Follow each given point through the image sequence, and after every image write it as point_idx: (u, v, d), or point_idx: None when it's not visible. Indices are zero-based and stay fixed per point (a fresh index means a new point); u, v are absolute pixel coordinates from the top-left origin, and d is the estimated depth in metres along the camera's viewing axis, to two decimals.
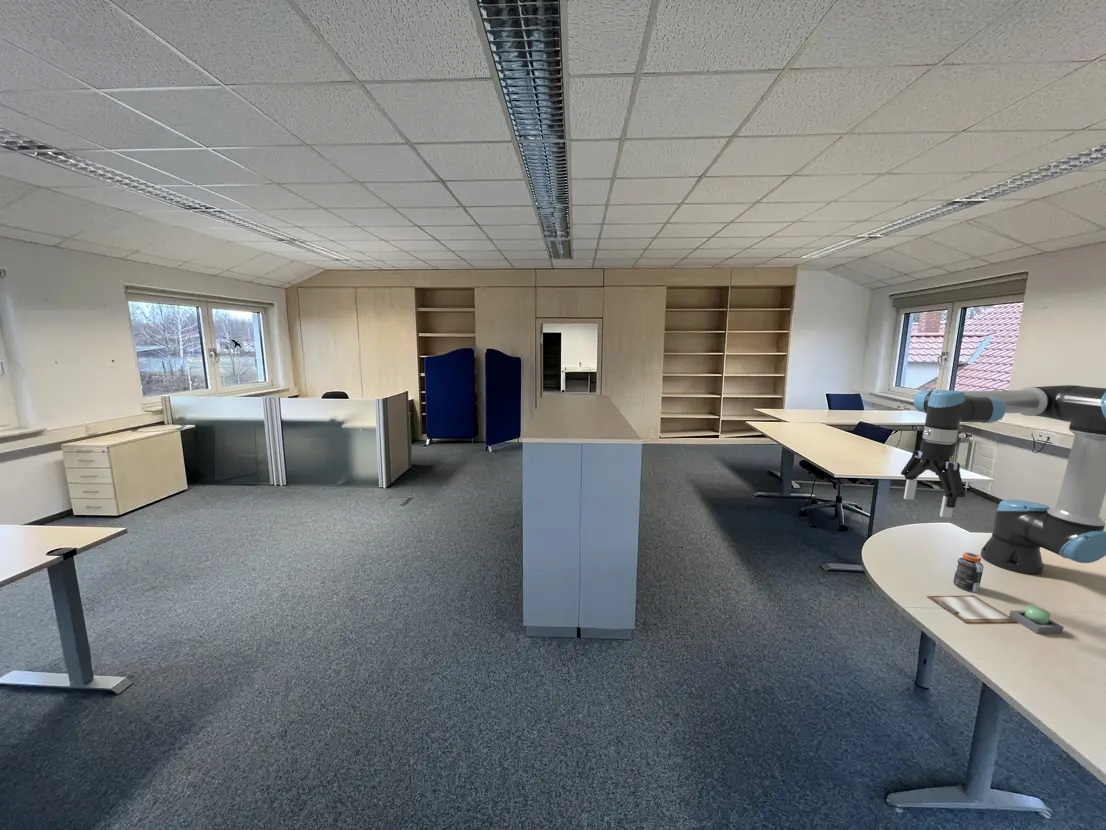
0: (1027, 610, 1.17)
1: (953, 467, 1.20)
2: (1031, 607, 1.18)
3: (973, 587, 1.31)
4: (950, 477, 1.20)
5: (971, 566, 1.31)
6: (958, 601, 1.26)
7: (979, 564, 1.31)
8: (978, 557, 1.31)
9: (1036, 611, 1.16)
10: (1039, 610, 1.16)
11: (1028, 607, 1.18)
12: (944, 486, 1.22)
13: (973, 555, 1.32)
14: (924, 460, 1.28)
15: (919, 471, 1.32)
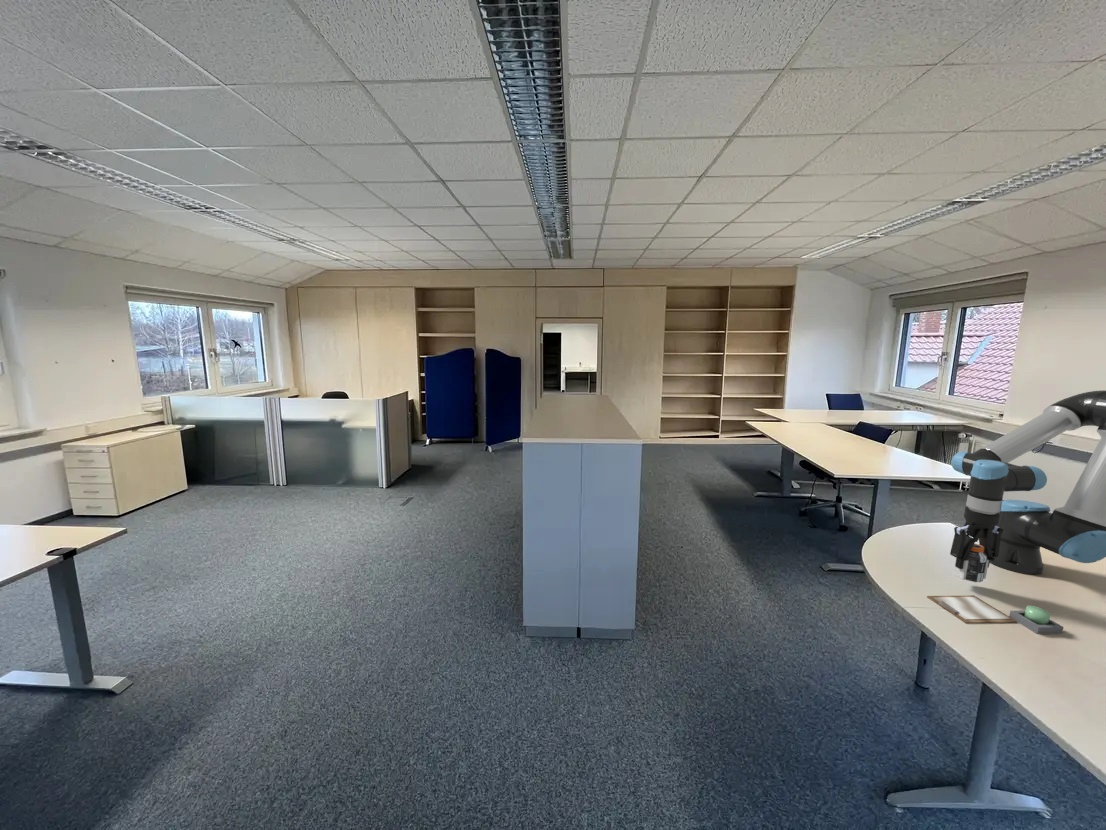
0: (1027, 610, 1.17)
1: (956, 531, 1.31)
2: (1031, 607, 1.18)
3: (978, 578, 1.31)
4: None
5: (974, 556, 1.30)
6: (958, 601, 1.26)
7: (983, 554, 1.30)
8: (981, 547, 1.31)
9: (1036, 611, 1.16)
10: (1039, 610, 1.16)
11: (1028, 607, 1.18)
12: None
13: (976, 545, 1.32)
14: None
15: (982, 544, 1.32)
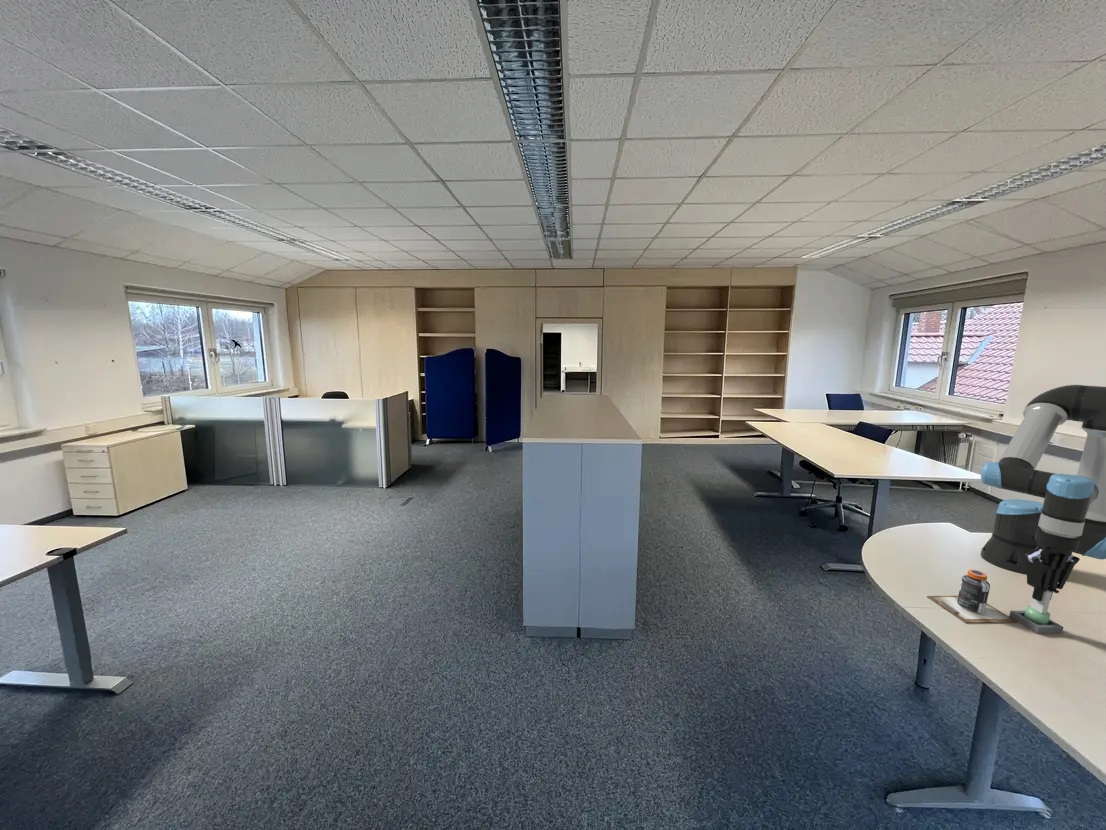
0: (1027, 610, 1.17)
1: (1028, 559, 1.14)
2: None
3: (979, 608, 1.20)
4: None
5: (976, 584, 1.20)
6: None
7: (985, 583, 1.20)
8: (984, 575, 1.20)
9: (1036, 611, 1.16)
10: None
11: (1028, 607, 1.18)
12: None
13: (979, 573, 1.21)
14: None
15: None
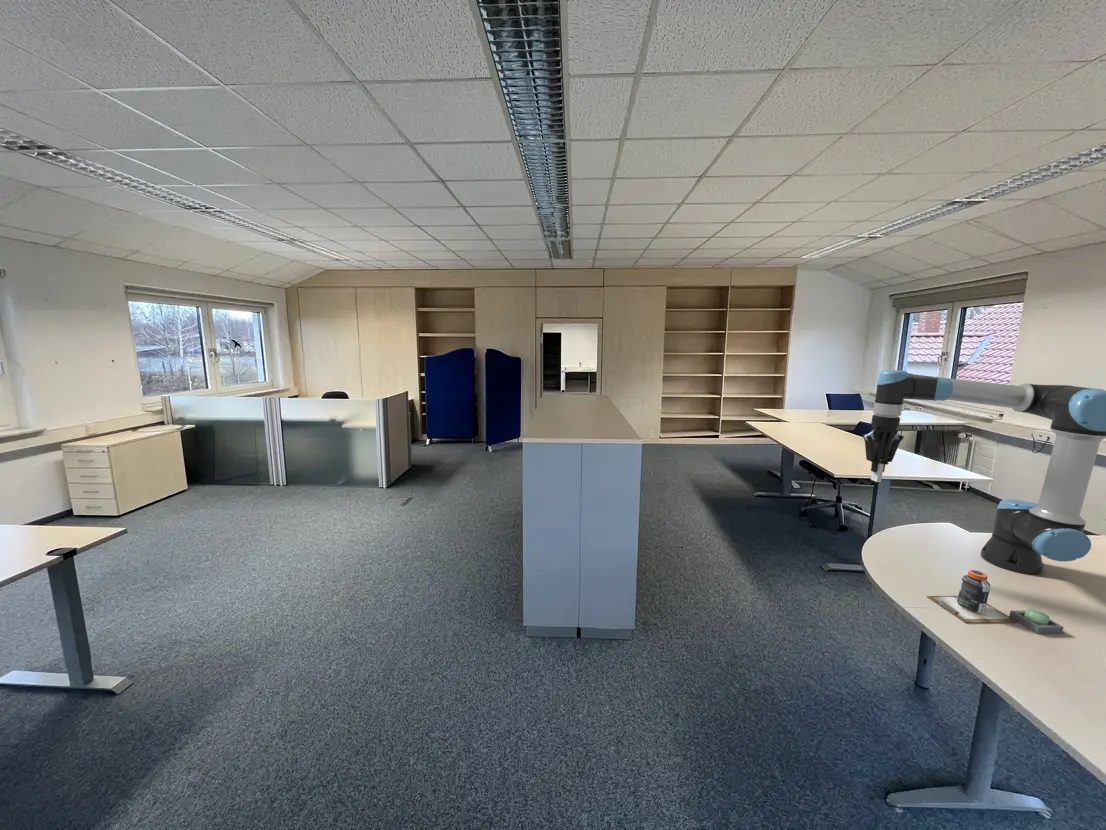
0: (1026, 613, 1.17)
1: (865, 438, 1.45)
2: (1030, 610, 1.18)
3: (979, 608, 1.20)
4: None
5: (976, 585, 1.20)
6: None
7: (985, 583, 1.20)
8: (984, 575, 1.20)
9: (1035, 614, 1.16)
10: (1038, 613, 1.16)
11: (1027, 610, 1.18)
12: None
13: (979, 573, 1.21)
14: None
15: (882, 449, 1.45)
